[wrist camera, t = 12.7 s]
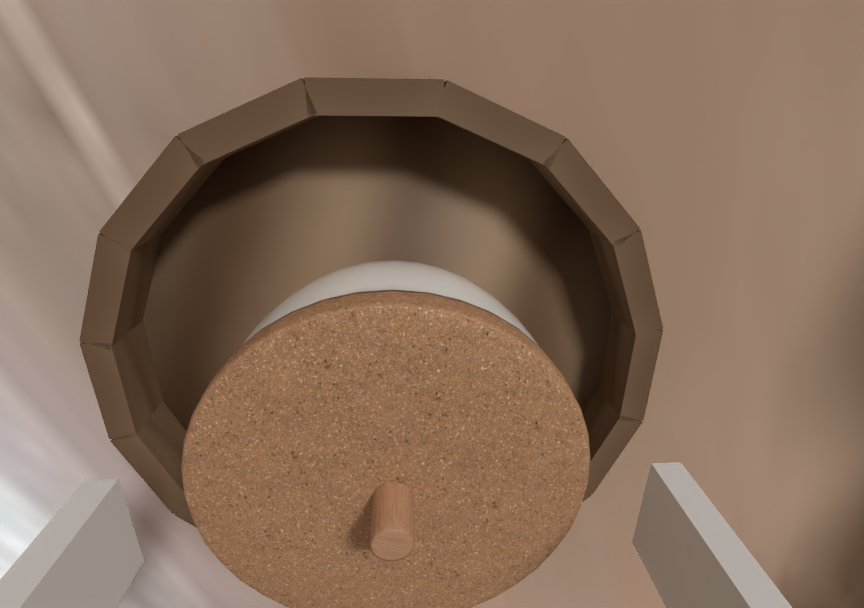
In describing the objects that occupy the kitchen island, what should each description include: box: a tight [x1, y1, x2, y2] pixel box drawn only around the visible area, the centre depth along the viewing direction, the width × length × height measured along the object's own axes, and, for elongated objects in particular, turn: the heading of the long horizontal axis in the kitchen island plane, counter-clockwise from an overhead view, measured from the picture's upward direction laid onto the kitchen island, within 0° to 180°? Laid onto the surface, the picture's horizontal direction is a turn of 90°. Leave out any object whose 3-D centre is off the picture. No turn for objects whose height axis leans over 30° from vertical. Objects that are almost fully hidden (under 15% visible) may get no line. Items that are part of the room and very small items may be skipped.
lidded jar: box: [181, 260, 591, 608], centre depth 15 cm, size 11×11×9 cm
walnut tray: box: [80, 78, 663, 527], centre depth 19 cm, size 21×21×3 cm
